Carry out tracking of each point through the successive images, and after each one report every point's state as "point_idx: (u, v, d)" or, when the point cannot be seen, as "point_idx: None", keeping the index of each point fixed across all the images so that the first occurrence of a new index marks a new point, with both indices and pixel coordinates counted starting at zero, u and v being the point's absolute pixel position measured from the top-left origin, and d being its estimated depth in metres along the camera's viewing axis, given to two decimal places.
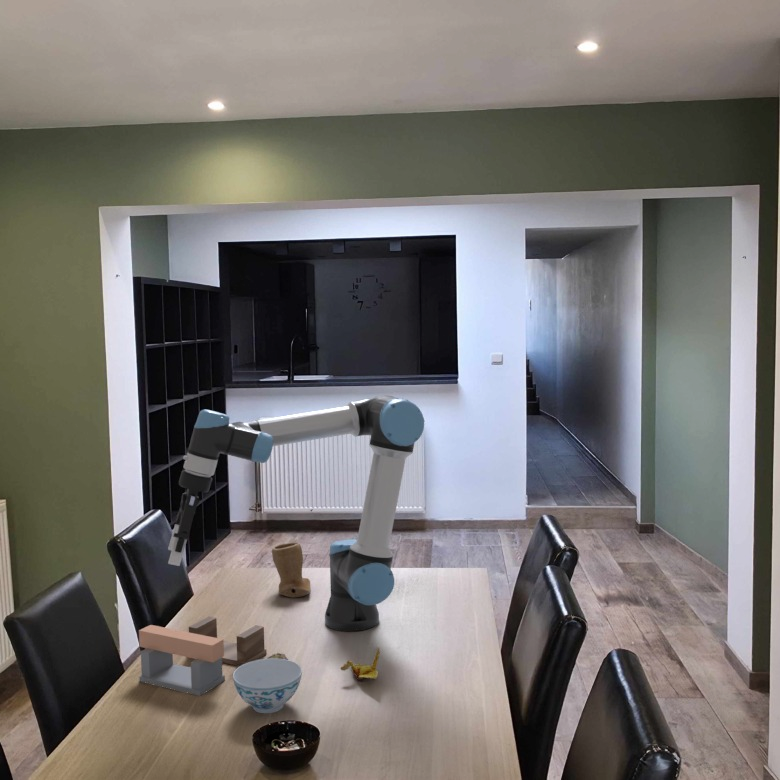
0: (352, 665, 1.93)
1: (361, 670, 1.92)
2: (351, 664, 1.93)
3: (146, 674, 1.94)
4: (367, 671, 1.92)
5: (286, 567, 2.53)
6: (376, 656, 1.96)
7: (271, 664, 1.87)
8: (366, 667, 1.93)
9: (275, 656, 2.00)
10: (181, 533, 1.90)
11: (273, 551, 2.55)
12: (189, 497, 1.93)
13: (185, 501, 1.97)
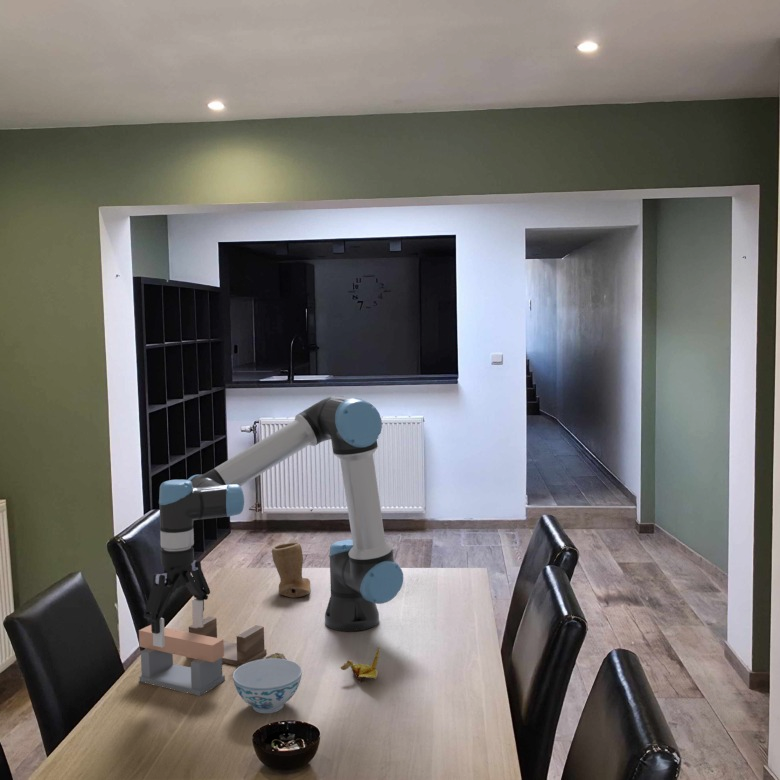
0: (352, 665, 1.93)
1: (361, 670, 1.93)
2: (351, 664, 1.93)
3: (146, 674, 1.94)
4: (367, 671, 1.93)
5: (286, 567, 2.53)
6: (376, 656, 1.96)
7: (271, 664, 1.87)
8: (366, 667, 1.93)
9: (273, 656, 2.00)
10: (146, 614, 1.84)
11: (273, 551, 2.55)
12: (154, 576, 1.86)
13: (167, 578, 1.90)
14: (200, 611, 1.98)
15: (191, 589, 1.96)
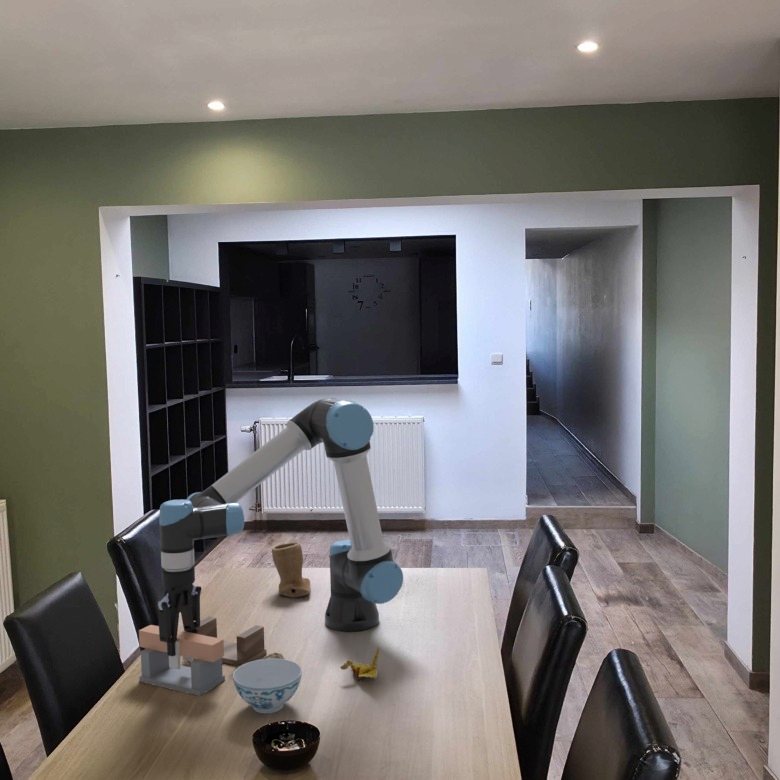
0: (352, 664, 1.93)
1: (361, 669, 1.93)
2: (351, 663, 1.93)
3: (146, 674, 1.94)
4: (367, 670, 1.93)
5: (286, 567, 2.53)
6: (376, 655, 1.96)
7: (271, 664, 1.87)
8: (366, 666, 1.93)
9: (272, 656, 2.00)
10: (162, 638, 1.88)
11: (273, 551, 2.55)
12: (156, 604, 1.87)
13: None
14: None
15: (184, 616, 1.95)
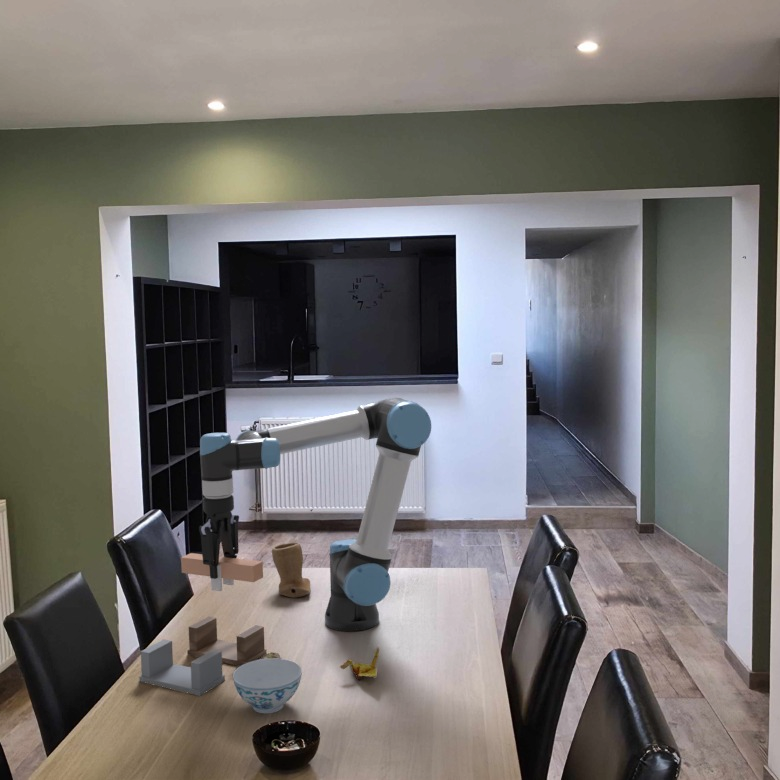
0: (352, 664, 1.94)
1: (360, 669, 1.93)
2: (351, 663, 1.94)
3: (146, 674, 1.94)
4: (366, 670, 1.93)
5: (286, 567, 2.53)
6: (375, 655, 1.96)
7: (271, 664, 1.87)
8: (365, 666, 1.94)
9: (268, 655, 2.00)
10: (205, 561, 2.01)
11: (273, 551, 2.55)
12: (200, 529, 1.99)
13: None
14: None
15: (224, 542, 2.07)
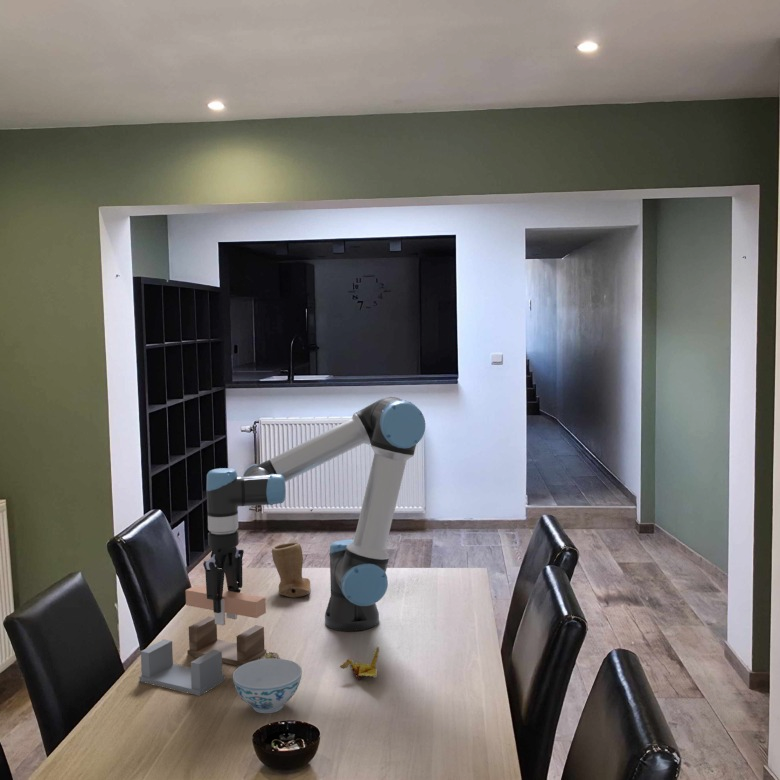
0: (351, 663, 1.94)
1: (360, 668, 1.93)
2: (350, 662, 1.94)
3: (146, 674, 1.94)
4: (366, 669, 1.93)
5: (286, 567, 2.53)
6: (375, 654, 1.96)
7: (271, 664, 1.87)
8: (365, 665, 1.94)
9: (267, 655, 2.00)
10: (209, 596, 2.03)
11: (273, 551, 2.55)
12: (204, 564, 2.02)
13: None
14: None
15: (228, 576, 2.09)
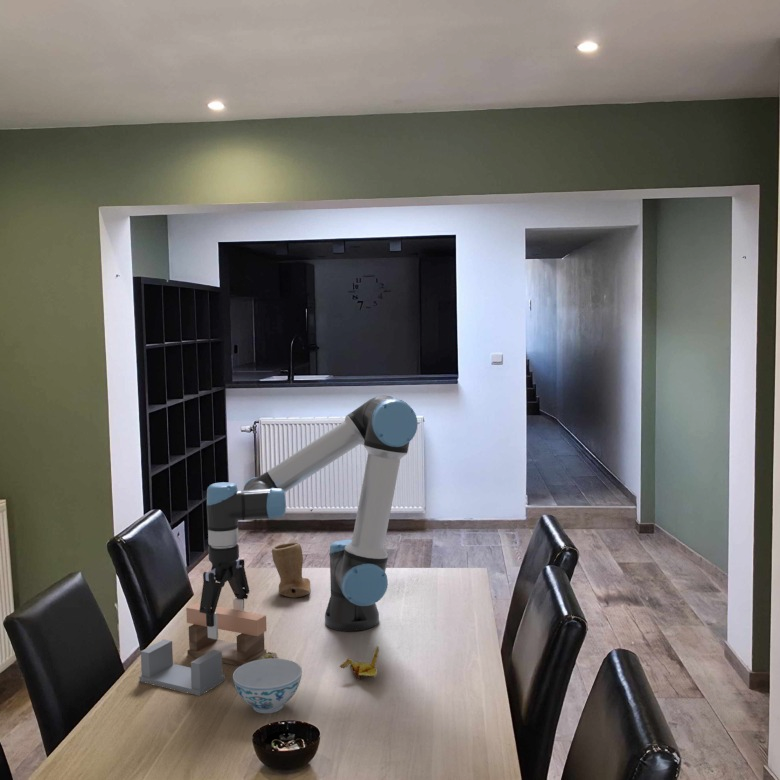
0: (351, 663, 1.94)
1: (360, 668, 1.93)
2: (350, 662, 1.94)
3: (146, 674, 1.94)
4: (366, 669, 1.93)
5: (286, 567, 2.53)
6: (375, 654, 1.97)
7: (271, 664, 1.87)
8: (365, 665, 1.94)
9: (265, 655, 2.01)
10: (201, 609, 2.01)
11: (273, 551, 2.55)
12: (204, 574, 2.02)
13: (215, 574, 2.06)
14: (241, 609, 2.12)
15: (233, 586, 2.11)
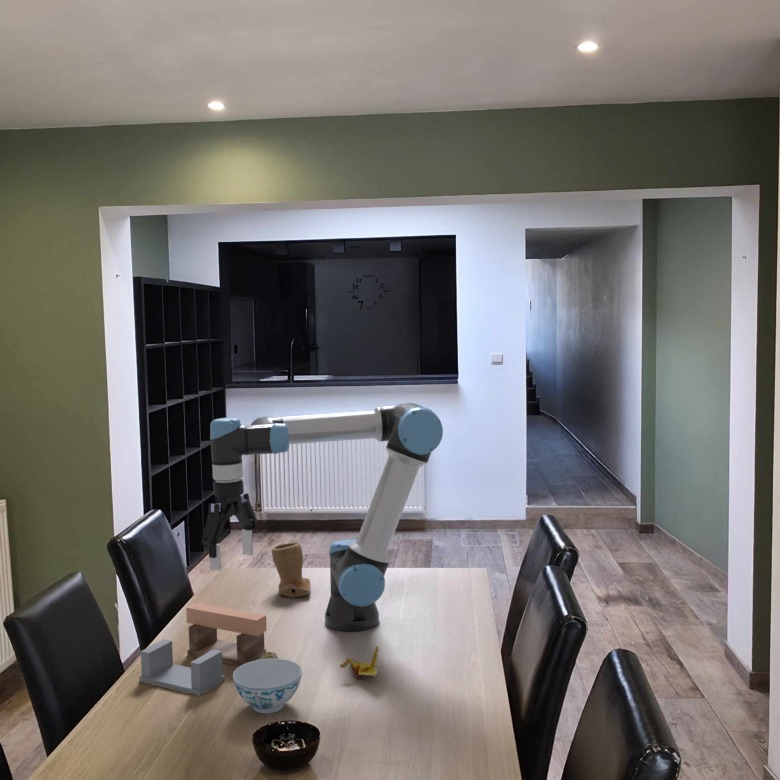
0: (351, 662, 1.94)
1: (360, 667, 1.94)
2: (350, 661, 1.94)
3: (146, 674, 1.94)
4: (366, 668, 1.94)
5: (286, 567, 2.53)
6: (375, 654, 1.97)
7: (271, 664, 1.87)
8: (365, 664, 1.94)
9: (265, 655, 2.01)
10: (204, 540, 2.00)
11: (273, 551, 2.55)
12: (210, 505, 2.02)
13: (220, 508, 2.06)
14: (250, 540, 2.14)
15: (241, 519, 2.12)
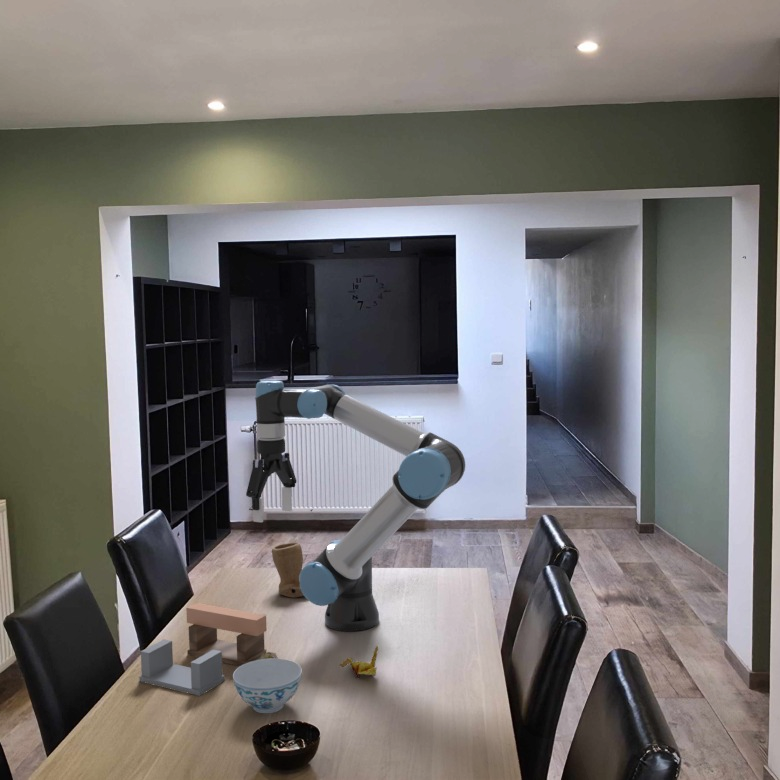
0: (351, 662, 1.95)
1: (360, 667, 1.94)
2: (350, 661, 1.95)
3: (146, 674, 1.94)
4: (366, 668, 1.94)
5: (286, 567, 2.53)
6: (375, 653, 1.97)
7: (271, 664, 1.87)
8: (365, 664, 1.95)
9: (265, 655, 2.01)
10: (248, 493, 2.13)
11: (273, 551, 2.55)
12: (254, 461, 2.16)
13: (263, 465, 2.20)
14: (289, 497, 2.27)
15: (281, 477, 2.26)
